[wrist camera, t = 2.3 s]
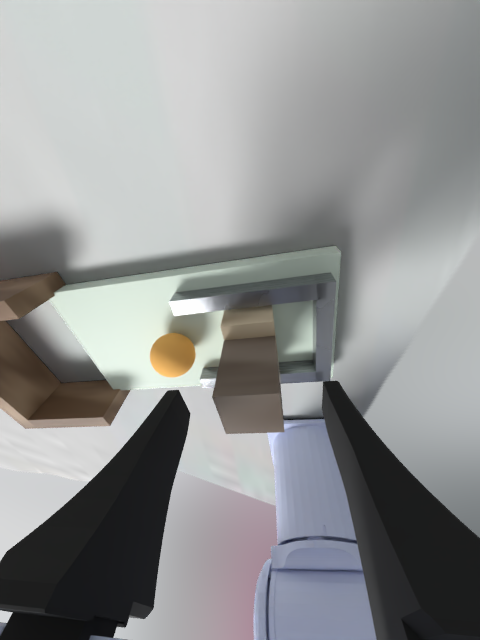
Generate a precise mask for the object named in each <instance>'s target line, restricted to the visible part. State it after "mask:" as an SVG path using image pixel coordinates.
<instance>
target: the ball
mask: <svg viewBox="0 0 480 640" xmlns="http://www.w3.org/2000/svg"><path fill="white" fill-rule="evenodd" d="M195 357H196V352H195V347H194V345H193V343H192V342H191V340H190V339H189V338H187V337H186V336H184V335H182V334H179V333H169V334H165V335H163V336H161V337H160V338H158V339H157V340H156V341H155V343H154V344H153V346H152V348H151V351H150V362H151V365H152V367H153V368H154V369H155V371H156V372H158V373H159V374H160V375H162V376H165V377H179V376H181V375H183V374H185V373H186V372H188V371H189V370H190V369H191V367H192V366H193V364H194V361H195Z"/></svg>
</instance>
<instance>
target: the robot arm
mask: <svg viewBox="0 0 480 640" xmlns="http://www.w3.org/2000/svg"><path fill="white" fill-rule="evenodd" d="M322 410H323V415H324V419H309V420H283V421H284V432H277V433H267V434H268V439H269V444H270V449H271V454H272V459H273V464H274V473H275V495H276V518H277V540H278V546H271V559H268V560H267V561H266V562H265V564H264V566H263V568H262V570H261V572H260V574H259V577H258V581H257V585H256V591H255V600H254V640H480V538H479V537H477V535H476V534H474V533H473V532H472V531H471V530H470V529H469V528H468V527H467V526H465V525H464V524H463V523H462V522H461V521H460V520H459V519H458V518H457V517H456V516H455V515H453V514H452V513H451V512H450V511H449V510H448V509H447V508H446V507H445V506H444V505H443V504H442V503H441V502H440V501H439V500H438V499H437V498H436V497H434V496H433V495H432V494H431V493H430V492H429V491H428V490H427V489H426V488H425V487H424V486H423V485H422V484H421V483H420V482H419V481H418V480H417V479H416V478H415V477H414V476H413V475H412V474H411V473H410V472H409V471H408V470H407V468H406V467H405V466H403V464H402V463H401V462H400V461H399V460H398V459H397V458H396V457H395V455H394V454H393V453H392V452H391V451H390V450H389V449H388V448H387V447H386V445H385V444H384V443H383V442H382V440H381V439H380V438H379V437H378V436H377V435H376V433H375V432H374V431H373V430H372V428H371V427H370V426H369V425H368V423H367V422H366V421H365V419H364V418H363V417H362V415H361V414H360V413H359V411H358V410H357V409H356V407H355V406H354V404H353V403H352V402H351V400H350V399H349V397H348V396H347V394H346V393H345V391H344V390H343V388H342V386H341V385H340V383H339V382H338V381H325V382H323V400H322ZM189 419H190V412H189V410H188V408H187V406H186V404H185V402H184V400H183V398H182V396H181V394H180V392H179V390H170V391H167V392H166V393H165V395H164V396H163V397H162V399H161V400H160V401H159V403H158V404H157V405H156V407H155V408H154V409H153V410H152V412H151V413H150V414H149V416H148V417H147V418H146V420H145V421H144V422H143V423H142V425H141V426H140V427H139V428H138V430H137V431H136V432H135V433H134V435H133V436H132V437H131V438H130V439H129V440H128V442H127V443H126V444H125V445H124V446H123V447H122V449H121V450H120V451H119V452H118V453H117V454H116V455H115V456H114V458H113V459H112V460H111V461H110V462H109V463H108V464H107V465H106V466H105V467H104V468H103V469H102V470H101V471H100V472H99V473H98V474H97V475H96V476H95V477H94V478H93V479H92V480H91V481H90V482H89V483H88V484H87V485H86V486H85V487H84V488H83V489H82V490H80V491H79V493H77V494H76V495H75V496H74V497H73V498H72V499H71V500H70V501H68V502H67V503H66V504H65V505H64V506H63V507H62V508H61V509H60V510H58V511H57V512H56V513H55V514H53V515H52V516H51V517H50V518H49V519H48V520H46V521H45V522H44V523H43V524H41V525H40V526H39V527H38V528H36V529H35V530H34V531H33V532H31V533H30V534H29V535H28V536H26V537H25V538H24V539H22V540H21V541H20V542H19V543H17V544H16V545H15V546H13V547H12V548H11V549H10V550H8V551H7V552H6V554H5V555H4V557H3V558H2V560H1V561H0V610H2V611H8V612H13V613H12V615H11V617H10V619H9V621H8V623H1V622H0V640H125V639H118V638H113V636H114V633H115V630H116V627H126V625H127V622H128V619H129V617H131V618H140V619H145V618H146V617H147V616H148V615H149V614H150V612H151V611H152V610H153V608H154V598H155V590H156V582H157V574H158V566H159V559H160V552H161V546H162V539H163V533H164V527H165V522H166V515H167V511H168V505H169V500H170V494H171V490H172V486H173V482H174V479H175V475H176V472H177V468H178V465H179V461H180V458H181V454H182V451H183V447H184V443H185V440H186V436H187V431H188V426H189Z"/></svg>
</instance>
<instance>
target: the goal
mask: <svg viewBox="0 0 480 640" xmlns="http://www.w3.org/2000/svg"><path fill="white" fill-rule="evenodd" d="M63 286H65V283H64V281H63V280H62V278H61V277H60V275H59V274H58V272H53V273H47V274H41V275H34V276H28V277H22V278H15V279H9V280H2V281H0V408H1V409H2V410H3V411H5V412H6V413H7V414H8V415H9V416H11V417H12V418H13V419H14V420H16V421H17V422H18V423H19V424H20V425H22V426H23V427H24V428H25V429H29V428H60V427H90V426H110V425H111V423H112V421H113V420H114V418H115V416H116V414H117V413H118V411H119V409H120V407H121V406H122V404H123V402H124V400H125V399H126V397H127V395H128V393H129V392H130V390H121V389H113V388H112V387H111V385H110V384H109V383H108V381H107V380H100V381H86V382H71V383H61V382H60V381H59V380H58V379H57V378H56V377H55V376H54V375H53V373H52V372H51V371H50V370H49V369H48V368H47V367H46V366H45V365H44V363H43V362H42V361H41V360H40V359H39V358H38V357H37V356H36V354H35V353H34V352H33V351H32V350H31V349H30V348H29V347H28V345H27V344H26V343H25V342H24V341H23V340H22V339H21V338H20V337H19V335H18V334H17V333H16V332H15V331H14V330H13V329H12V328H11V326H10V325H9V324H8V323H7V322H6V321H5V320H13V319H20V318H21V317H23V316H24V315H26V314H27V313H29V312H30V311H32V310H34V309H35V308H37V307H38V306H40V305H41V304H43V303H44V302H46V301H47V300H49V299H50V298H52V297H54V296H55V295H54V292H55V291H57V290H59V289H60V288H62V287H63Z"/></svg>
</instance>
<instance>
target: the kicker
mask: <svg viewBox="0 0 480 640" xmlns="http://www.w3.org/2000/svg"><path fill="white" fill-rule="evenodd" d="M220 327H221V331H222V335H223V338H224V343H223V348H222V352H221V357H220V362H219V367H218V372H217V377H216V382H215V387H214V391H213V396H212V397H213V400H214V403H215V405H216V408H217V411H218V413H219V416H220V419H221V421H222V424H223V427H224V429H225V432H226V434H236V433H277V432H284V421H283V409H282V398H281V387H280V373H279V361H278V353H277V344H276V335H275V326H274V317H273V308H272V305H266V306H257V307H248V308H239V309H231V310H224V314H223V318H222V322H221V326H220Z"/></svg>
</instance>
